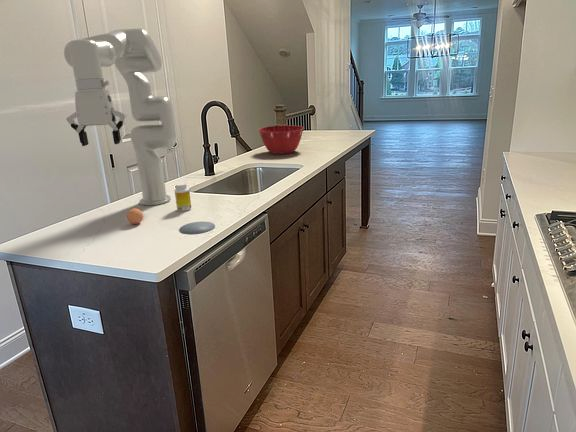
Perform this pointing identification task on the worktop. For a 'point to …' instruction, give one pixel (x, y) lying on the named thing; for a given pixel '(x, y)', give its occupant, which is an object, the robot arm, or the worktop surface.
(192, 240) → the worktop surface
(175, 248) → the worktop surface
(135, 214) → the ball
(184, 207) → the supplement bottle
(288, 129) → the mixing bowl
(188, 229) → the disc
